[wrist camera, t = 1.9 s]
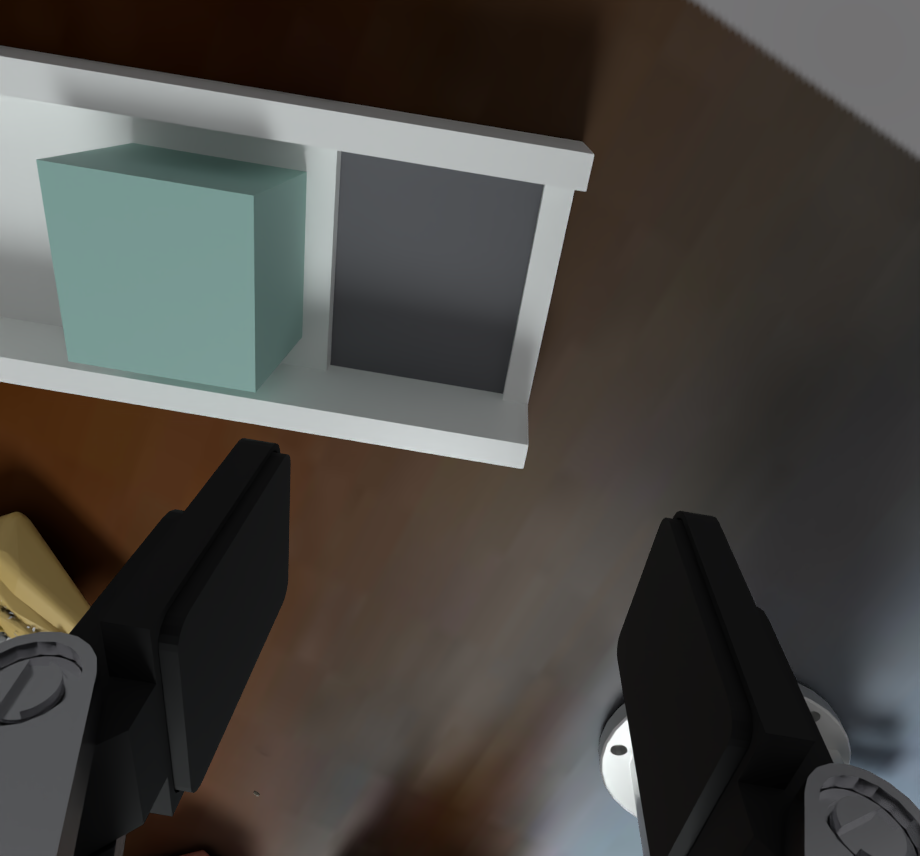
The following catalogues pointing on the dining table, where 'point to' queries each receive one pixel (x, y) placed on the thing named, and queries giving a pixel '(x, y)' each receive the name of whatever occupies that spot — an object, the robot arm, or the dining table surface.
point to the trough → (318, 253)
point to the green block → (176, 262)
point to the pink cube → (197, 853)
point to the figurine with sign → (34, 584)
